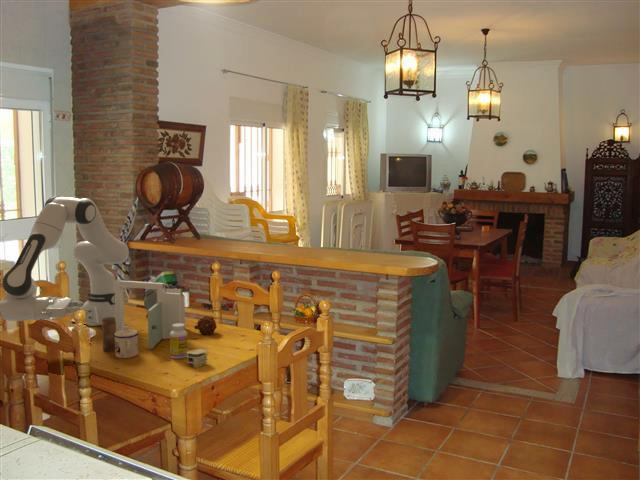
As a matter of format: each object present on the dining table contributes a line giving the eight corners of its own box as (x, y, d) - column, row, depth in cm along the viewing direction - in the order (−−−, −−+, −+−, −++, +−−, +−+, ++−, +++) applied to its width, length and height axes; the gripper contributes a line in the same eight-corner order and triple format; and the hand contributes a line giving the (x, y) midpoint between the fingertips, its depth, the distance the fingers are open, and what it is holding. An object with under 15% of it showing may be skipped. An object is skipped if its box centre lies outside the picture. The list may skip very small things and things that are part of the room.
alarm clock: (168, 314, 310) (167, 285, 308) (169, 317, 303) (169, 287, 301) (144, 316, 306) (143, 286, 304) (145, 320, 299) (144, 289, 297)
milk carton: (178, 332, 278) (177, 290, 275) (164, 331, 279) (162, 290, 277) (185, 328, 285) (184, 287, 282) (171, 327, 286) (169, 287, 284)
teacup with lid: (113, 353, 248) (112, 324, 246) (137, 350, 251) (135, 322, 250) (117, 362, 237) (116, 332, 235) (141, 358, 241) (140, 329, 239)
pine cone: (211, 340, 271) (199, 338, 280) (224, 326, 275) (212, 324, 284) (199, 326, 268) (188, 324, 277) (213, 312, 272) (201, 311, 281)
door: (155, 349, 252) (154, 310, 250) (148, 348, 252) (147, 310, 250) (166, 337, 268) (164, 301, 265) (159, 337, 268) (158, 301, 266)
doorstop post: (100, 350, 251) (99, 319, 249) (108, 347, 255) (106, 316, 254) (111, 352, 249) (110, 320, 248) (118, 348, 254) (117, 317, 252)
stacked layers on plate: (199, 360, 241) (199, 346, 240) (214, 365, 235) (214, 350, 234) (178, 366, 233) (178, 352, 232) (193, 371, 227) (193, 357, 227)
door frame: (116, 334, 275) (114, 281, 272) (119, 332, 277) (117, 280, 274) (179, 340, 266) (178, 285, 263) (182, 338, 268) (181, 284, 265)
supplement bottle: (178, 360, 239) (177, 328, 237) (166, 357, 243) (165, 325, 241) (191, 355, 244) (190, 324, 243) (179, 352, 248) (178, 321, 247)
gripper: (38, 306, 234) (77, 304, 237) (48, 295, 253) (84, 294, 257) (39, 322, 234) (78, 320, 238) (49, 310, 254) (85, 309, 257)
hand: (81, 306), depth 247 cm, fingers open, 8 cm apart
